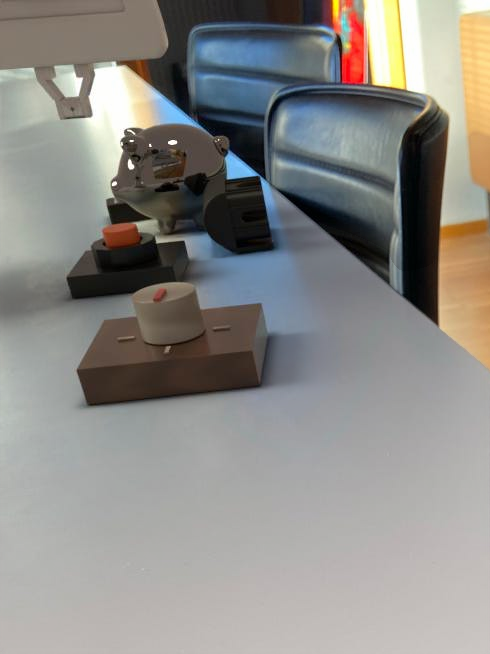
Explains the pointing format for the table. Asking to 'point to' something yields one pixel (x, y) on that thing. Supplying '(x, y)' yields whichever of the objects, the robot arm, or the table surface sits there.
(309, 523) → the table surface
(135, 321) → the dial panel
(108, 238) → the button
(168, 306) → the dial knob
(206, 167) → the piggy bank
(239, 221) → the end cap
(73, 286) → the box
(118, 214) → the multiport hub
